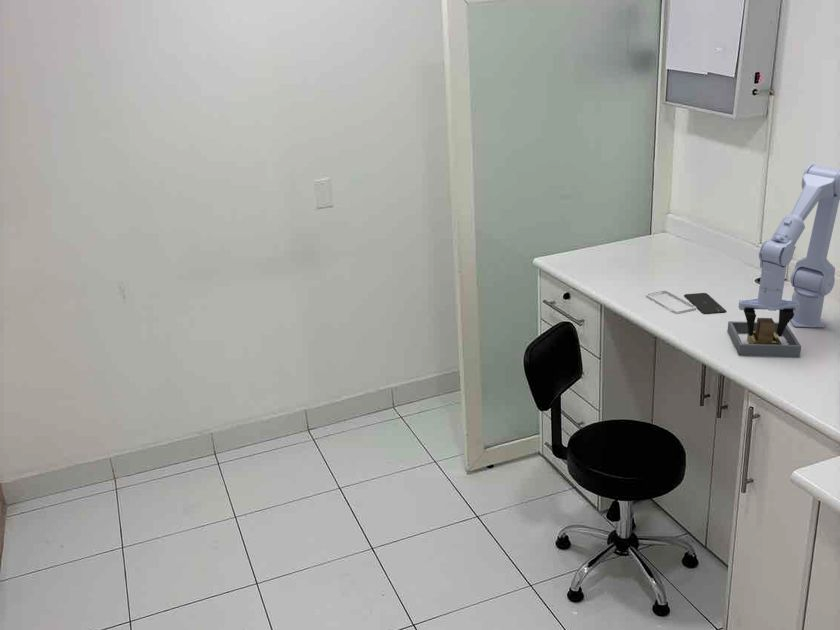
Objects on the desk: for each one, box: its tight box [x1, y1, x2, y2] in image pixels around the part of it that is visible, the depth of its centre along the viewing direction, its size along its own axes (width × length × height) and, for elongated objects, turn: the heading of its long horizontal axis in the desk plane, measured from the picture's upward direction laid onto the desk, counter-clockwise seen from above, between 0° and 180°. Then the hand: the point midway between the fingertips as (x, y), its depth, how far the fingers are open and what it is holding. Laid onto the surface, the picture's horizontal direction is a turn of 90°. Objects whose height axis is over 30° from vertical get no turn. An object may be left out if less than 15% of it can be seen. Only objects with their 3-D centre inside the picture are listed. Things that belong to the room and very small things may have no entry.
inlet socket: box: [746, 331, 782, 345], centre depth 225 cm, size 7×7×2 cm
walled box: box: [726, 320, 802, 358], centre depth 226 cm, size 15×15×3 cm
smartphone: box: [683, 292, 727, 315], centre depth 252 cm, size 7×1×15 cm
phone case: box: [645, 290, 697, 315], centre depth 253 cm, size 7×1×15 cm
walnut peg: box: [755, 317, 775, 341], centre depth 224 cm, size 4×4×7 cm
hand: (764, 334), depth 224 cm, fingers open, 7 cm apart
